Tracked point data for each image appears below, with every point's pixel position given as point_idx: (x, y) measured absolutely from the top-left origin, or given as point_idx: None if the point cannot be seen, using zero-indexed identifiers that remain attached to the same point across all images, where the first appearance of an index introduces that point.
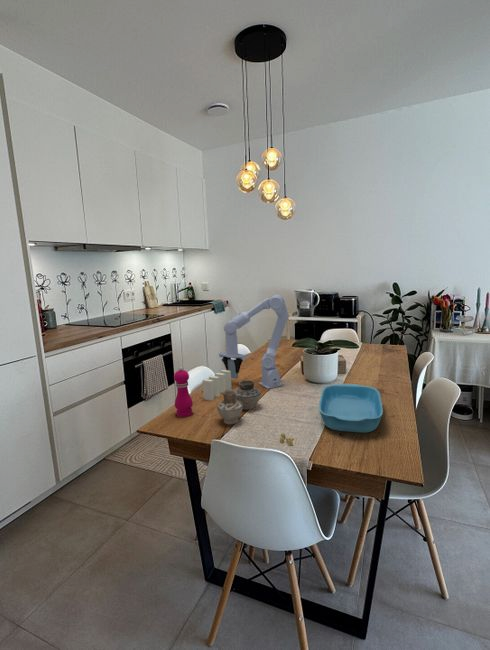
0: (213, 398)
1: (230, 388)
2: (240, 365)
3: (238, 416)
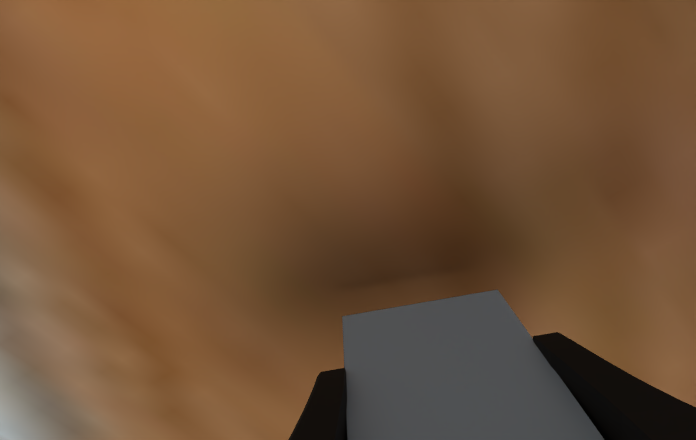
0: None
1: None
2: (692, 415)
3: None
